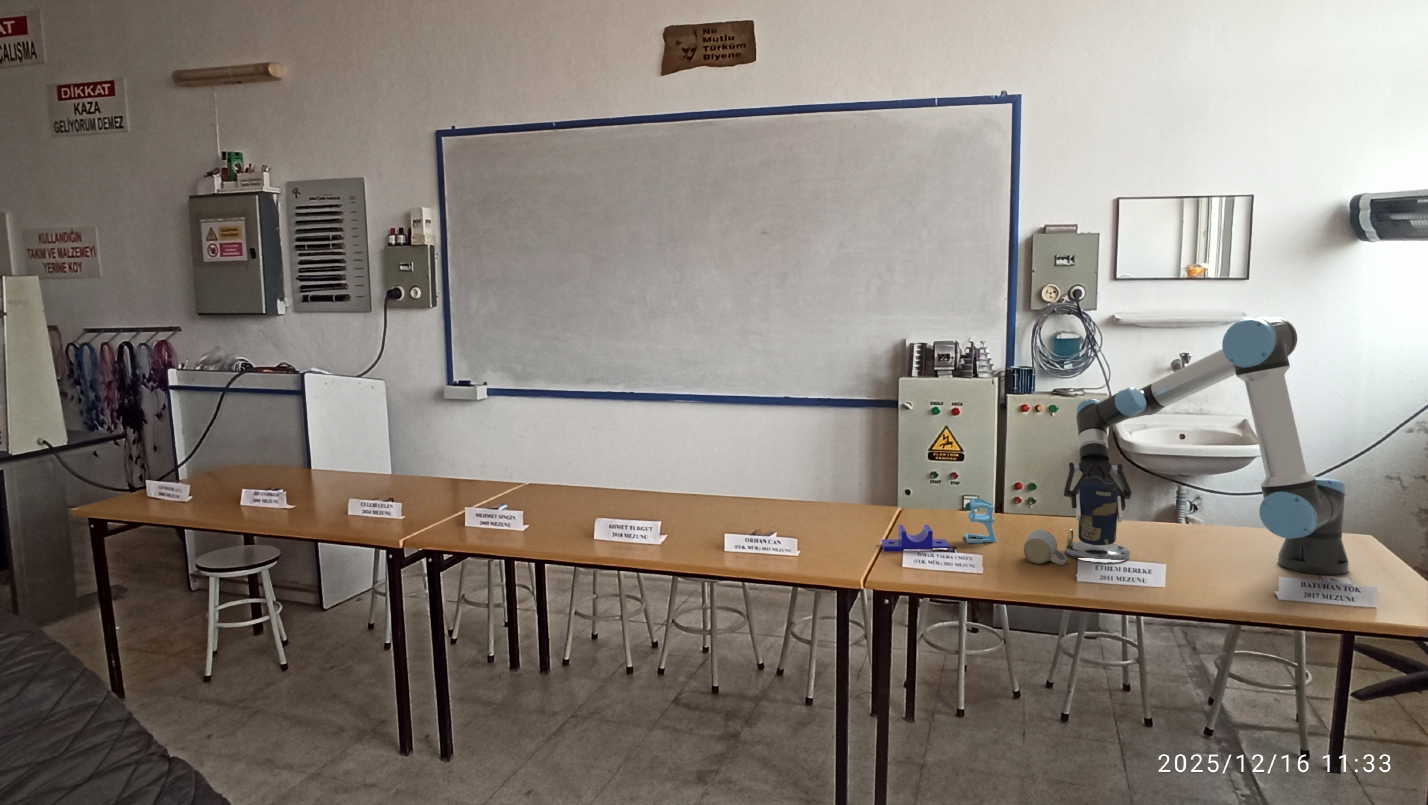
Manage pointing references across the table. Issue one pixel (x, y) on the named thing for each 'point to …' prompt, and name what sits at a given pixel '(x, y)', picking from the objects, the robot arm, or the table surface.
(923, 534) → the mounting bracket
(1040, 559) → the ceramic mug
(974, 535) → the light blue stand
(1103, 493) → the canister
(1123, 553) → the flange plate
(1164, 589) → the table surface
